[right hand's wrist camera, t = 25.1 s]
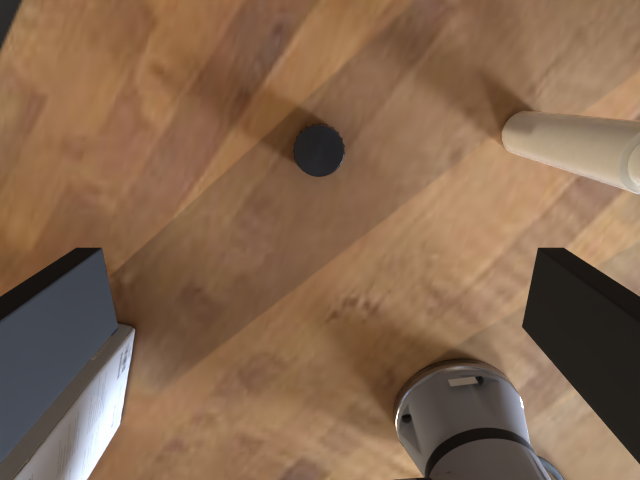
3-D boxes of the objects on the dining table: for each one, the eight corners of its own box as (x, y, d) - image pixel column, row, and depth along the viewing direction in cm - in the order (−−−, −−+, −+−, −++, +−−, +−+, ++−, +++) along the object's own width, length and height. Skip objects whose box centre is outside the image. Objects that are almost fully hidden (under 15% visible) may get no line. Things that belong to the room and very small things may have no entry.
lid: (294, 122, 38) (293, 123, 36) (345, 123, 38) (346, 125, 36) (293, 172, 40) (292, 176, 38) (342, 174, 40) (343, 178, 38)
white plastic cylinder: (543, 152, 39) (710, 197, 22) (500, 157, 39) (634, 205, 23) (546, 108, 38) (727, 121, 21) (502, 113, 38) (646, 131, 21)
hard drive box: (69, 308, 45) (-109, 463, 26) (137, 325, 46) (11, 486, 27) (60, 413, 50) (-94, 604, 32) (121, 426, 51) (7, 620, 32)
